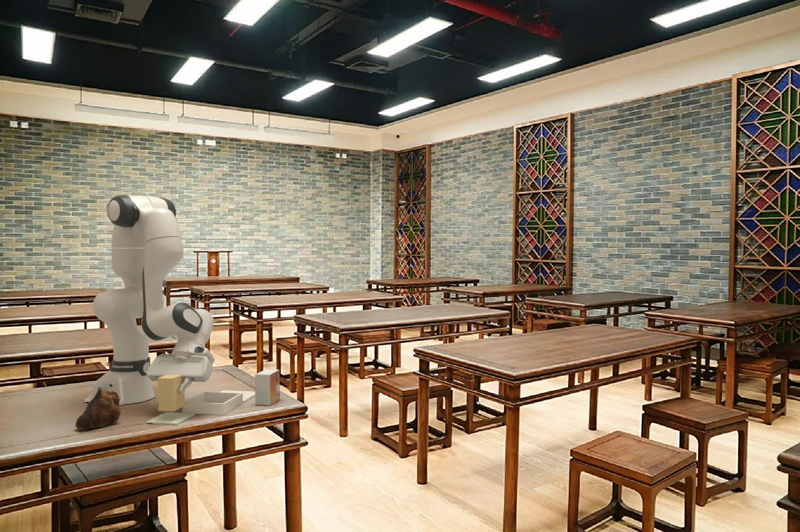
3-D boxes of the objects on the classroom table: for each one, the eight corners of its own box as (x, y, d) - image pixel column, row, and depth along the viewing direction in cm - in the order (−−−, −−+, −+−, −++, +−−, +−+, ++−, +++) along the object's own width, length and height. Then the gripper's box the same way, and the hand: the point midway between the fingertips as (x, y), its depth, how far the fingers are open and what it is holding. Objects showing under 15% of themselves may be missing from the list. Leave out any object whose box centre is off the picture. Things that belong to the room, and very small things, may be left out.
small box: (270, 406, 181) (269, 374, 181) (254, 405, 182) (254, 374, 182) (280, 399, 189) (280, 369, 188) (265, 398, 190) (265, 368, 190)
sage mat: (146, 423, 163) (146, 421, 163) (166, 413, 173) (166, 412, 173) (176, 425, 162) (176, 423, 162) (195, 415, 171) (195, 413, 171)
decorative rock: (116, 419, 168) (115, 384, 167) (124, 423, 164) (124, 388, 163) (73, 429, 159) (72, 392, 158) (81, 433, 155) (80, 396, 154)
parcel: (158, 410, 165) (157, 378, 164) (170, 405, 170) (169, 373, 170) (173, 411, 164) (172, 378, 163) (184, 405, 170) (183, 373, 169)
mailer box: (182, 412, 174) (182, 402, 174) (222, 391, 200) (222, 382, 200) (224, 414, 171) (223, 403, 171) (259, 392, 197) (259, 383, 197)
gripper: (153, 348, 175) (134, 385, 166) (212, 348, 172) (196, 387, 162) (162, 359, 180) (144, 396, 170) (219, 360, 176) (204, 398, 167)
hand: (170, 392), depth 166 cm, fingers closed on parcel, 5 cm apart
